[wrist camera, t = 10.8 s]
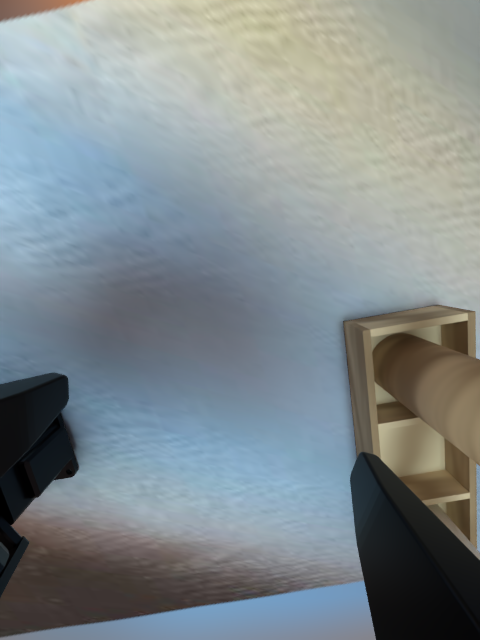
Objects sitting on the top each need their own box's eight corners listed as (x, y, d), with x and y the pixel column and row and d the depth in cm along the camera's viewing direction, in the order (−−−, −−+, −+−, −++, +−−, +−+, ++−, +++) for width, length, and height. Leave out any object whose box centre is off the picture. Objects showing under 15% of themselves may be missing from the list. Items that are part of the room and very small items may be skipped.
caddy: (365, 545, 25) (384, 585, 22) (343, 321, 21) (362, 331, 18) (446, 532, 25) (476, 570, 22) (439, 304, 21) (475, 311, 18)
